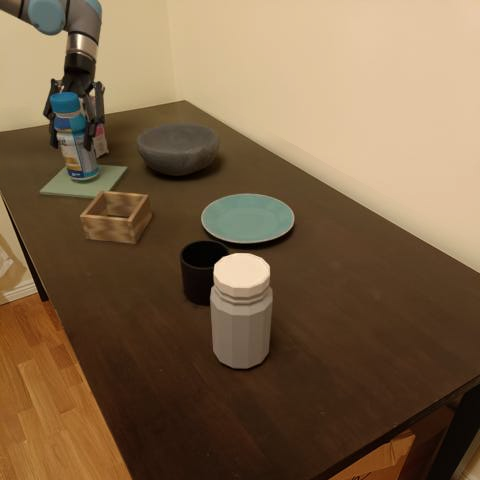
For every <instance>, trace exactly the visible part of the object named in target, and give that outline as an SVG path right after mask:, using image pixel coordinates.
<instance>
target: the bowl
mask: <svg viewBox="0 0 480 480" xmlns="http://www.w3.org/2000/svg"><path fill="white" fill-rule="evenodd" d="M135 146H136V149H137V153H138V154H139V156H140V157H141V158H142V160H143V161H144V163H146V165H147V166H148V167H149V168H151V169H152V170H154V171H156V172H158V173H160V174H163V175H168V176H174V177H179V176H187V175H190V174H192V173H195V172H198V171H200V170H202V169H205V168H207V167H208V166H209V165H211V163H212V162H213V161H214V160H215V158H216V156H217V155H218V152H219V149H220V136H219V134H218V132H217V131H216V130H215V129H213V128H212V127H210V126H207V125H204V124H200V123H194V122H174V123H173V122H172V123H165V124H160V125H156V126H153V127H151V128H148V129H145V130H144V131H142V132H141V133H140V134H139V135H138V136H137V138H136V142H135Z"/></svg>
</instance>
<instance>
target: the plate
mask: <svg viewBox="0 0 480 480" xmlns="http://www.w3.org/2000/svg"><path fill="white" fill-rule="evenodd" d="M200 219H201V220H200V221H201V224H202V227H203V228H204V229H205V231H207V232H208V233H209V235H212V236H213V237H214V238H216V239H219V240H221V241H225V242H227V243H233V244H245V245H247V244H248V245H249V244H259V243H264V242H269V241H272V240H276V239H278V238H281V237H282V236H284V235H286V234H287V233H288V232H289V231H290V230H291V229H292V228H293V226H294V223H295V214H294V211H293V209H292V208H291V207H290V206H289V205H287V204H286V203H285V202H283V201H282V200H279V199H277V198H275V197H272V196H269V195H264V194H260V193H236V194H231V195H227V196H223V197H220V198H219V199H216V200H214V201H212V202H211V203H209V204H208V205H207V206H206V207H205V208H204V210H203V211H202V213H201V216H200Z"/></svg>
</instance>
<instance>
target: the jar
mask: <svg viewBox="0 0 480 480" xmlns="http://www.w3.org/2000/svg"><path fill="white" fill-rule="evenodd" d="M270 280H271V265H269V263H267V261H265V259H264V258H263V257H260V256H257V255H255V254H252V253H247V252H246V253H243V252H242V253H238V252H236V253H232V254H230V255H228V256H225V257H222V258H221V259H220V260H219V261H218V262H217V263H216V264H215V266H214V283H215V285H214V286H213V287H212V288H211V297H210V303H211V305H210V318H211V320H210V321H211V334H212V336H211V337H212V351H213V353H214V355H215V357H216V358H217V359H218V361H219V362H220V363H222V364H224V365H225V366H228V367H230V368H232V369H244V370H245V369H249V368H252V367H254V366H257V365H259V364H262V362H263V361H264V360H265V359H266V357H267V355H268V354H269V352H270V340H271V327H272V314H273V301H274V299H273V295H274V294H273V288H272V287H271V286H270Z"/></svg>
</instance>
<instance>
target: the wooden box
mask: <svg viewBox="0 0 480 480" xmlns="http://www.w3.org/2000/svg"><path fill="white" fill-rule="evenodd" d="M151 208H152V207H151V202H150V196H149V194H143V193H133V192H120V191H112V190H111V191H100V193H99V194H98V195H97V196H96V197H95V199H92V201H91V202H90V203H89V204H88V206H87V207H86V208H85V209H84V211H82V213H81V214H80V216H79V218H80V222H81V225H82V228H83V229H82V230H83V232H84V235H85V239H86V240H94V241H101V242H102V241H103V242H110V243H111V242H113V243H120V244H121V243H122V244H123V243H124V244H132V245H136V244H137V243H138V241H139V240H140V238H141V236H142V234H143V233H144V232H145V229H146V228H147V227H148V225H149V224H150V221H151V219H152V218H153V214H152V209H151Z"/></svg>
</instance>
